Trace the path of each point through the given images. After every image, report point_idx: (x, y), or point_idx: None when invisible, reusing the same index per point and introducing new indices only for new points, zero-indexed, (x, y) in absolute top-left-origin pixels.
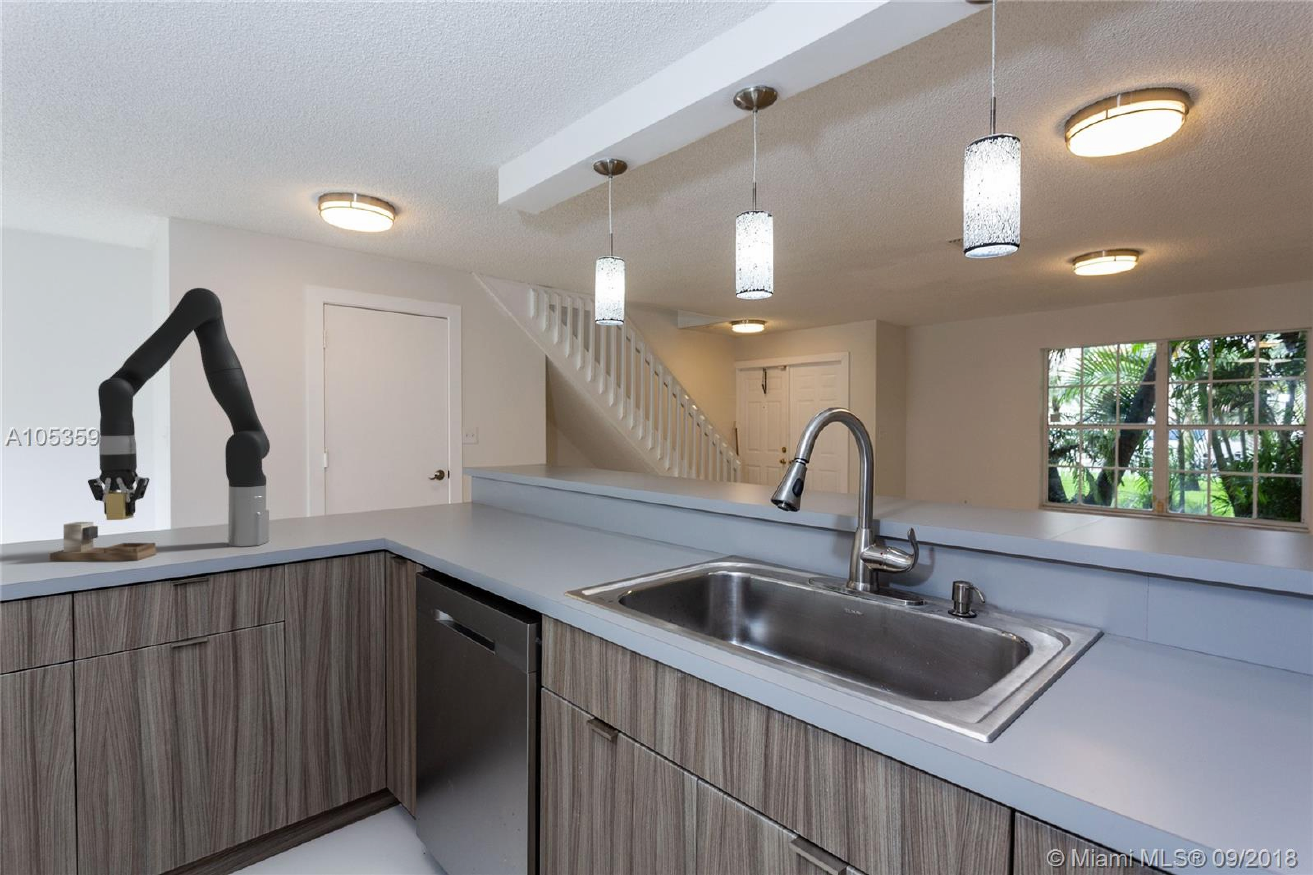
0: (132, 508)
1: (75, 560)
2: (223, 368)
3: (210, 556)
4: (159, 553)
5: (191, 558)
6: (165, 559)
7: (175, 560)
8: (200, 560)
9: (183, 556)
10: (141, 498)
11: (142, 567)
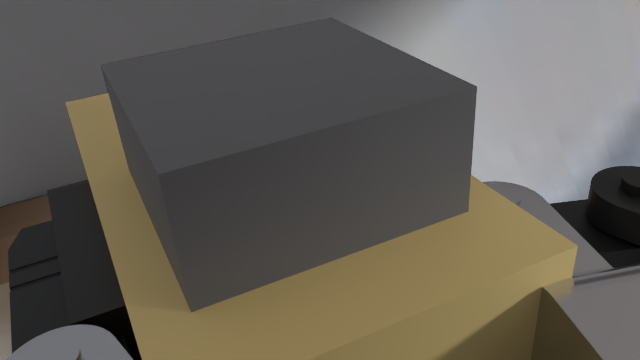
0: None
1: None
2: None
3: (630, 61)
4: (391, 33)
5: (577, 117)
6: (492, 162)
7: (536, 168)
8: (615, 143)
9: (535, 85)
10: (614, 182)
11: None
